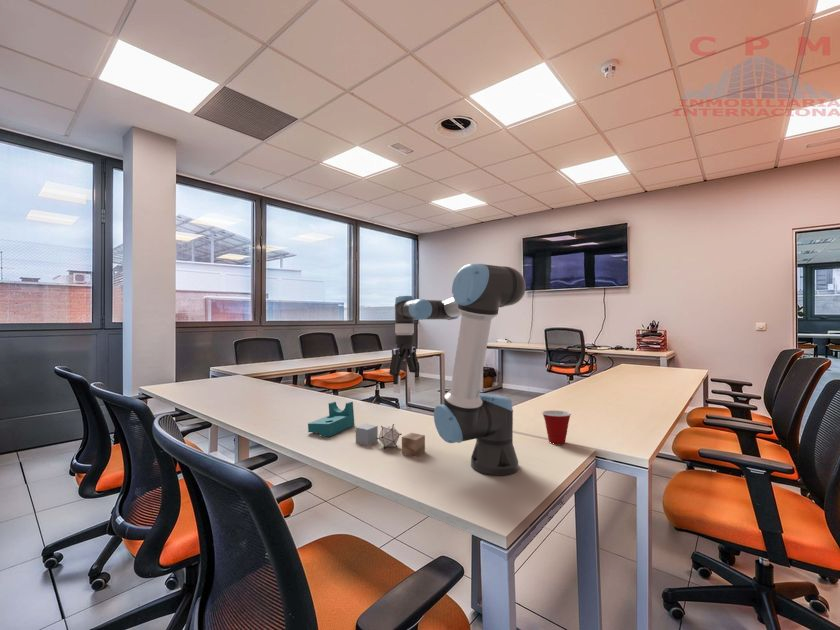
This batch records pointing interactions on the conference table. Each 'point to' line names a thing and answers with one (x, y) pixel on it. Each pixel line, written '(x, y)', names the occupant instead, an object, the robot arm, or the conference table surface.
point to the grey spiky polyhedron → (389, 436)
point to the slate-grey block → (366, 434)
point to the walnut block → (413, 444)
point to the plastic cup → (556, 425)
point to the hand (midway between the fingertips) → (404, 390)
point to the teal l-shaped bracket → (333, 420)
